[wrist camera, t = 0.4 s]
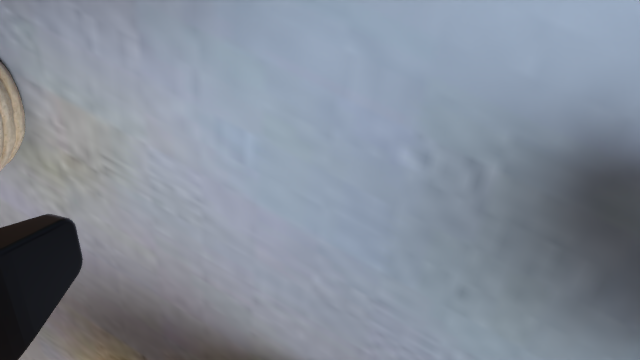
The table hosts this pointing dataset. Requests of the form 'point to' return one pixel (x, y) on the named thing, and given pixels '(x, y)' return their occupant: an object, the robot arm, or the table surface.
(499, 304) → the table surface
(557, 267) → the table surface
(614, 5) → the table surface
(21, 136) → the carving
